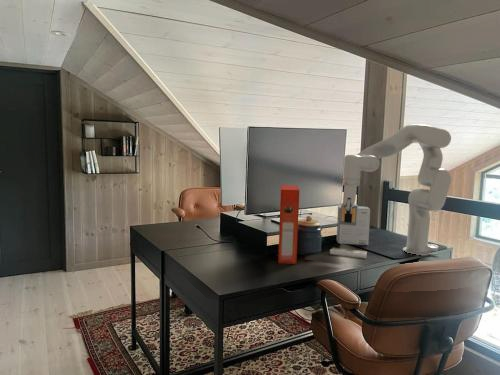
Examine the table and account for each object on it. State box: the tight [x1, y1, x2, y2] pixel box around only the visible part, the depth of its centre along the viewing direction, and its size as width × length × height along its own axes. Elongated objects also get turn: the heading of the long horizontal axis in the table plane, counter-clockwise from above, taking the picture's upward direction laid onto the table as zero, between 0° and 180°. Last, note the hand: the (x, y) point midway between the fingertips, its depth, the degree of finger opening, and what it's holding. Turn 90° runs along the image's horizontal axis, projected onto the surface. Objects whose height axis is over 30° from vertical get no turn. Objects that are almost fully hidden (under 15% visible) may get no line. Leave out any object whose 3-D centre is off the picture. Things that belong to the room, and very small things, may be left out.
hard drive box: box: [336, 205, 372, 246], centre depth 202 cm, size 16×8×20 cm, turn 84°
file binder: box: [277, 184, 300, 265], centre depth 176 cm, size 8×17×32 cm, turn 176°
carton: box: [340, 202, 359, 226], centre depth 181 cm, size 5×7×9 cm
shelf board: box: [329, 247, 368, 259], centre depth 183 cm, size 16×12×4 cm
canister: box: [297, 215, 323, 256], centre depth 187 cm, size 13×13×18 cm
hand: (348, 220), depth 181 cm, fingers closed on carton, 5 cm apart
